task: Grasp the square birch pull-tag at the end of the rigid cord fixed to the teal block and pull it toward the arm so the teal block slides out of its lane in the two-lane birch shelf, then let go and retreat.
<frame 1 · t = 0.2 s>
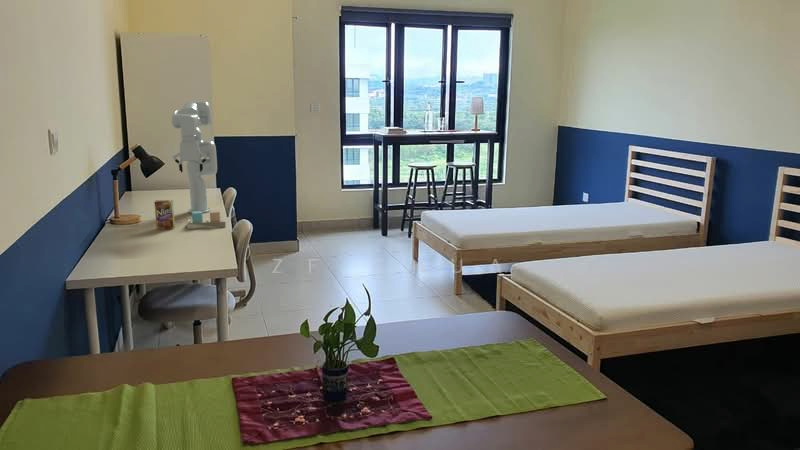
hand: (191, 171, 327), 30 cm above the table, fingers open, 9 cm apart
lane shelf: (206, 226, 337), on the table
teal block: (198, 226, 335), resting in lane shelf
candy box: (165, 228, 331), on the table
ochre block: (215, 225, 338), resting in lane shelf
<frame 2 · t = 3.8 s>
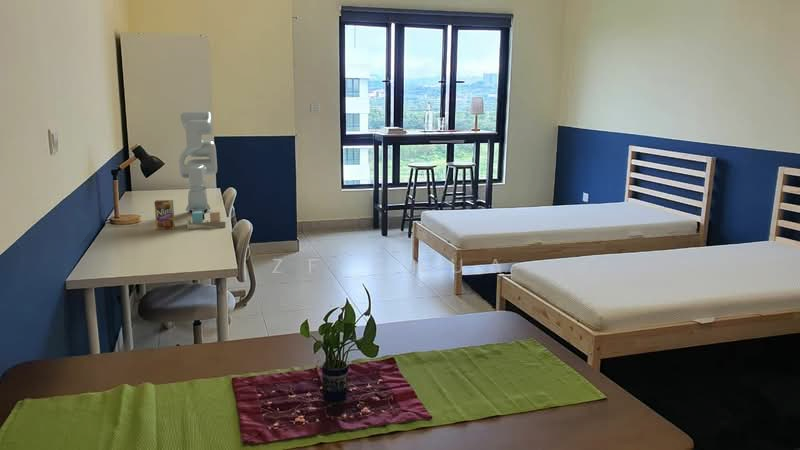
hand: (199, 220, 346), 1 cm above the table, fingers closed on teal block, 3 cm apart
teal block: (198, 226, 335), resting in lane shelf, touching gripper
everything else where it was.
when the fingers open (1 cm above the table, at t = 7.3 s): teal block stays where it is, on the table.
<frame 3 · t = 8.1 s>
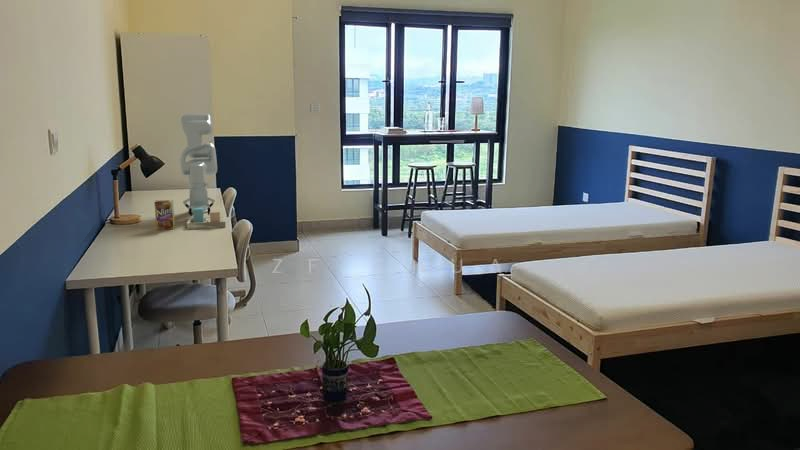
hand: (199, 215, 356), 2 cm above the table, fingers open, 9 cm apart
teal block: (199, 222, 346), on the table
everything else where it was.
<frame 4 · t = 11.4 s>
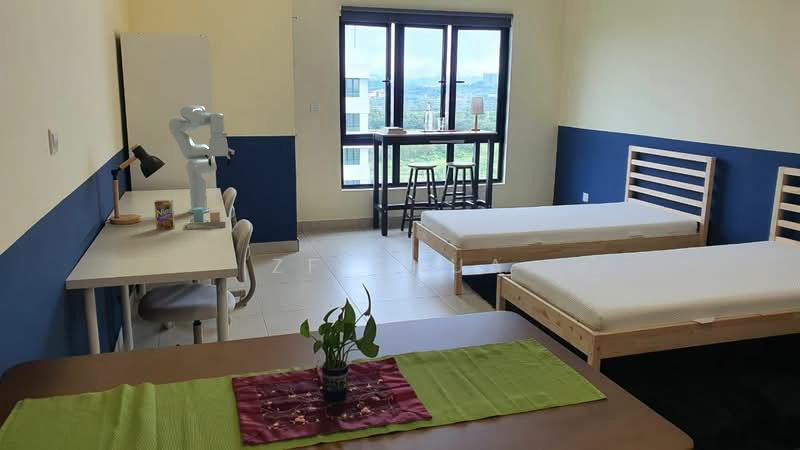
hand: (219, 166, 349), 30 cm above the table, fingers open, 9 cm apart
nothing on the table moved.
at the end: teal block inside the target area (3.0 cm from its centre), on the table; teal block moved 11.1 cm from its start; the gripper is holding nothing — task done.
